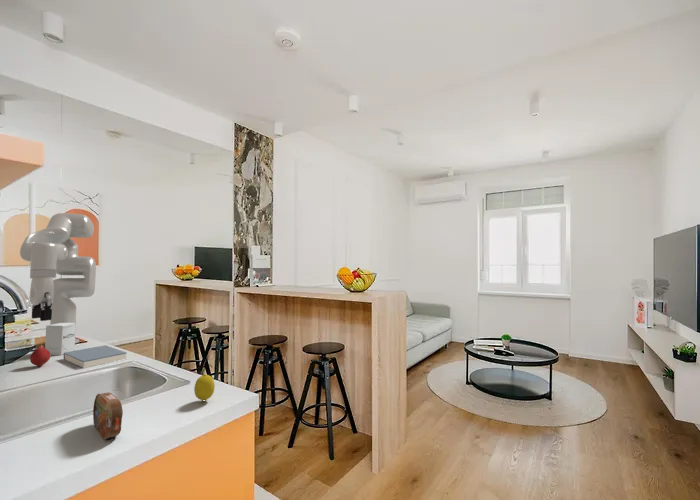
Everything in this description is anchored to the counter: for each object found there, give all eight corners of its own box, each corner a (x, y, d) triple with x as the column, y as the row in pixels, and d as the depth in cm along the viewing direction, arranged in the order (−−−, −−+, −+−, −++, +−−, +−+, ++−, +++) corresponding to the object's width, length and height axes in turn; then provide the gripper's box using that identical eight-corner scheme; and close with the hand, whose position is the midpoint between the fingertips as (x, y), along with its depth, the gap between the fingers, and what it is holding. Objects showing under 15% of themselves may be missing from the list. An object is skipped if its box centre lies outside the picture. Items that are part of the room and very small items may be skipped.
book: (63, 360, 142) (63, 352, 142) (105, 352, 154) (105, 345, 154) (83, 369, 131) (83, 361, 131) (126, 359, 143) (126, 352, 143)
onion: (35, 369, 128) (36, 348, 129) (25, 368, 130) (26, 346, 130) (53, 365, 134) (54, 344, 134) (43, 363, 136) (44, 343, 136)
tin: (91, 423, 88) (92, 390, 88) (106, 419, 90) (107, 386, 90) (107, 445, 78) (109, 407, 78) (124, 440, 80) (125, 403, 80)
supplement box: (61, 355, 147) (62, 325, 148) (44, 355, 147) (45, 325, 148) (75, 350, 155) (76, 322, 155) (59, 350, 155) (60, 322, 155)
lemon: (218, 399, 104) (218, 372, 104) (205, 406, 99) (205, 378, 99) (203, 396, 106) (204, 370, 106) (189, 403, 100) (190, 375, 101)
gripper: (23, 274, 135) (21, 318, 134) (38, 275, 125) (36, 322, 124) (48, 273, 141) (46, 316, 140) (63, 274, 131) (62, 320, 131)
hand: (41, 319), depth 132 cm, fingers open, 9 cm apart
